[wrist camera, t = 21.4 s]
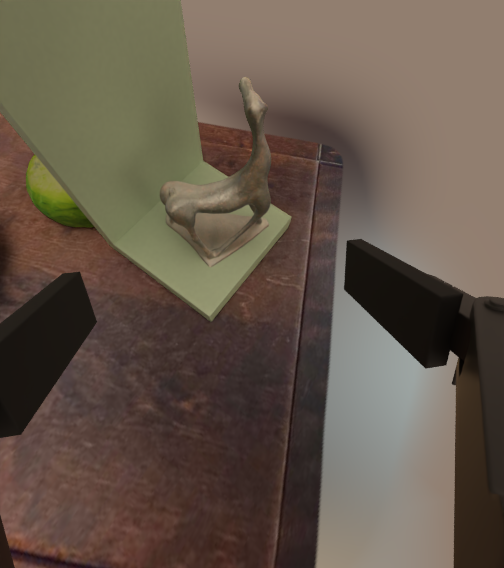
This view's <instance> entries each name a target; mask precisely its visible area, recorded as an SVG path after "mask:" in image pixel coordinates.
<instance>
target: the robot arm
mask: <svg viewBox="0 0 504 568" xmlns="http://www.w3.org/2000/svg"><path fill="white" fill-rule="evenodd" d="M346 250H347V251H346V266H345V285H344V290H345V291H346V292H347V293H348V294H350V295H351V296H352V297H353V298H354V299H355V300H356V301H357V302H358V303H359V304H360V305H361V306H362V307H363V308H364V309H365V310H366V311H367V312H368V313H369V314H370V315H371V316H372V317H373V318H374V319H375V320H376V321H377V322H378V323H379V324H380V325H381V326H383V328H384V329H386V330H387V331H388V332H389V333H390V334H391V335H392V336H393V337H394V338H395V339H396V340H397V341H398V342H399V343H400V344H401V345H402V346H403V347H404V348H405V349H406V350H407V351H408V352H409V353H410V354H411V355H412V356H413V357H414V358H415V359H416V360H417V361H419V363H420V364H421V365H423V366H424V367H425V368H432V367H438V366H444V365H446V364H447V360H448V355H449V352H450V350H451V351H452V352H453V353H454V354H456V355H457V356H458V357H459V358H458V362H457V366H456V370H455V374H454V377H453V381H452V384H453V385H456V433H455V434H456V435H455V437H456V439H455V511H454V512H455V513H454V516H455V517H454V568H504V298H499V297H479V298H475V297H473V296H471V295H469V294H467V293H465V292H463V291H461V290H460V289H458V288H456V287H452V285H450V284H448V283H446V282H445V283H444V281H442V280H440V279H439V278H437V277H435V276H432V275H429V274H426V273H424V272H422V271H420V270H418V269H416V268H414V267H412V266H411V265H408V264H407V263H405V262H403V261H401V260H399V259H397V258H396V257H394V256H392V255H390V254H388V253H386V252H384V251H383V250H380V249H379V248H377V247H375V246H373V245H371V244H369V243H368V242H366V241H364V240H362V239H357V240H349V241H347V248H346ZM96 323H97V321H96V318H95V315H94V312H93V309H92V306H91V303H90V300H89V297H88V294H87V291H86V288H85V286H84V283H83V280H82V277H81V274H80V272H73V273H64V274H62V275H60V276H59V277H58V278H57V279H55V280H54V281H53V282H52V283H50V284H49V285H48V286H47V287H45V288H44V289H43V290H42V291H40V292H39V293H38V294H37V295H35V296H34V297H33V298H32V299H31V300H29V301H28V302H27V303H26V304H24V305H23V306H22V307H21V308H19V309H18V310H17V311H16V312H14V313H13V314H12V315H11V316H9V317H8V318H7V319H6V320H4V321H3V322H2V323H1V324H0V438H3V437H9V436H15V435H21V434H22V432H23V431H24V429H25V428H26V426H27V425H28V423H29V422H30V420H31V419H32V417H33V416H34V414H35V413H36V411H37V410H38V408H39V407H40V406H41V404H42V403H43V401H44V400H45V398H46V397H47V395H48V394H49V392H50V391H51V389H52V388H53V386H54V385H55V383H56V382H57V380H58V379H59V377H60V376H61V374H62V373H63V371H64V370H65V369H66V367H67V366H68V364H69V363H70V361H71V360H72V358H73V357H74V355H75V354H76V352H77V351H78V349H79V348H80V346H81V345H82V343H83V342H84V340H85V339H86V337H87V336H88V334H89V333H90V332H91V330H92V329H93V327H94V326H95V324H96ZM0 568H15V567H14V564H13V560H12V556H11V553H10V549H9V545H8V542H7V538H6V534H5V531H4V527H3V523H2V520H1V516H0Z"/></svg>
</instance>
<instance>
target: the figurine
mask: <svg viewBox="0 0 504 568" xmlns="http://www.w3.org/2000/svg"><path fill="white" fill-rule="evenodd" d="M239 89H240V91H241V93H242V97H243V102H244V110H245V115H246V118H247V121H248V123H249V126H250V128H251V131H252V135H253V149H252V153H251V157H250V159H249V161H248V162H247V164H246V165H245V166H244V167H243V168H242V169H241V170H240V171H238V172H237V173H235V174H234V175H232V176H230V177H228V178H226V179H224V180H221V181H217V182H213V183H209V184H204V185H194V184H188V183H184V182H180V181H168V182H166V183H164V184H163V186H162V187H161V189H160V199H161V202H162V203H163V204H164V205H165V211H166V213H167V214H166V224H167V225H168V226H169V227H170V228H171V229H173V230H174V231H175V232H176V233H178V234H179V235H180V236H181V237H182V238H183V239H184V240H186V241H187V242H188V243H189V244H190V245H191V246H192V247H193V249H194V250H195V251H196V252H197V253H198V255H199V256H200V257H201V259H202V260H203V261H204V262H205V263H206V264H207V265H208V266H209V267H213V266H214V265H216V264H217V263H219V262H221V261H222V260H224V259H225V258H227V257H228V256H230V255H231V254H233V253H234V252H236V251H237V250H239V249H240V248H242V247H243V246H244V245H246V244H247V243H248V242H250V241H251V240H253V239H254V238H255V237H256V236H258V235H259V234H260V233H261V232H262V231H263V230H264V229H266V228H267V227H268V226H269V223H268V221H267V219H265V218H261V217H263V215H265V214H266V213H267V211H268V210H269V208H270V204H271V199H270V194H269V190H268V184H267V177H268V173H269V170H270V166H271V154H270V150H269V147H268V145H267V142H266V139H265V136H264V130H263V123H264V116H265V114H266V111H267V110H268V106H267V105H266V104H265V103H263V101H262V100H261V98H260V96H259V95H258V94H257V93H255V92H254V90H253V88H252V84H251V81H250V80H249V78H247V77H244V78H243V79H241V81H240V83H239ZM246 205H249V206H250V208H251V210H252V211H253V213H254V215H253V216H252V217H251V216H241V215H235V214H228V213H231V212H233V211H236V210H238V209H241V208H242V207H244V206H246Z"/></svg>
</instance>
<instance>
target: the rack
mask: <svg viewBox="0 0 504 568" xmlns="http://www.w3.org/2000/svg"><path fill="white" fill-rule="evenodd" d="M0 112H1V114H2V115H3V116H4V117H5V119H6V120H7V121H8V122H9V123H10V125H11V126H12V127H13V128H14V129H15V131H16V132H17V133H18V134H19V136H20V137H21V138H22V139H23V140H24V142H25V143H26V144H27V145H28V146H29V148H30V149H31V150H32V151H33V153H34V154H35V155H36V156H37V157H38V159H39V160H40V161H41V162H42V164H43V165H44V166H45V167H46V168H47V170H48V171H49V172H50V173H51V174H52V176H53V177H54V178H55V179H56V181H57V182H58V183H59V184H60V185H61V187H62V188H63V189H64V190H65V191H66V193H67V194H68V195H69V196H70V198H71V199H72V200H73V201H74V202H75V204H76V205H77V206H78V207H79V209H80V210H81V211H82V212H83V213H84V215H85V216H86V217H87V218H88V219H89V221H90V222H91V223H92V224H93V226H94V227H95V228H96V229H97V230H98V232H99V233H100V234H101V235H102V236H103V238H104V239H105V240H106V241H107V243H108V244H109V245H110V246H111V247H112V248H114V249H115V250H116V251H118V252H119V253H120V254H122V255H123V256H124V257H126V258H127V259H128V260H130V261H131V262H132V263H134V264H135V265H136V266H138V267H139V268H140V269H142V270H143V271H144V272H146V273H147V274H148V275H150V276H151V277H152V278H154V279H155V280H156V281H157V282H159V283H160V284H161V285H163V286H164V287H165V288H167V289H168V290H169V291H171V292H172V293H173V294H175V295H176V296H177V297H179V298H180V299H181V300H183V301H184V302H185V303H187V304H188V305H189V306H191V307H192V308H193V309H195V310H196V311H197V312H199V313H200V314H201V315H203V316H204V317H205V318H206V319H208V320H209V321H210V322H211V321H212V320H213V319H214V318H215V317H216V315H217V314H218V313H219V312H220V310H221V309H222V308H223V307H224V306H225V304H226V303H227V302H228V301H229V299H230V298H231V297H232V296H233V295H234V293H235V292H236V291H237V290H238V288H239V287H240V286H241V285H242V283H243V282H244V281H245V280H246V279H247V277H248V276H249V275H250V274H251V272H252V271H253V270H254V269H255V268H256V266H257V265H258V264H259V263H260V261H261V260H262V259H263V258H264V256H265V255H266V254H267V253H268V252H269V250H270V249H271V248H272V247H273V245H274V244H275V243H276V242H277V241H278V239H279V238H280V237H281V236H282V234H283V233H284V232H285V231H286V229H287V228H288V227H289V224H290V221H291V216H289V215H288V214H286V213H285V212H283V211H281V210H280V209H278V208H277V207H275V206H274V205H272V204H270V208H269V210H268V211H267V213H266V214H265V215H263V217H261V218H265V219H267V221H268V223H269V226H268V227H267V228H266V229H264V230H263V231H262V232H261V233H260V234H259V235H258V236H256V237H255V238H254V239H253V240H251V241H250V242H248V243H247V244H246V245H244V246H243V247H242V248H240V249H239V250H237V251H236V252H234V253H233V254H231V255H230V256H228V257H227V258H225V259H224V260H222V261H221V262H219V263H217V264H216V265H214V266H213V267H209V266H208V265H207V264H206V263H205V262H204V261H203V260H202V259H201V257H200V256H199V255H198V253H197V252H196V251H195V250H194V249H193V247H192V246H191V245H190V244H189V243H188V242H187V241H186V240H184V239H183V238H182V237H181V236H180V235H179V234H178V233H176V232H175V231H174V230H173V229H171V228H170V227H169V226H168V225H167V224H166V214H167V213H166V211H165V205H164V204H163V203H162V202H161V199H160V189H161V187H162V186H163V184H164V183H166V182H168V181H180V182H184V183H188V184H194V185H204V184H209V183H213V182H217V181H221V180H224V179H226V178H228V176H226V175H225V174H223V173H221V172H220V171H218V170H217V169H215V168H213V167H212V166H210V165H209V164H207V163H206V162H204V161H203V157H202V150H201V143H200V136H199V128H198V121H197V114H196V107H195V100H194V93H193V86H192V79H191V71H190V64H189V57H188V51H187V43H186V35H185V28H184V21H183V15H182V7H181V0H0ZM228 214H235V215H241V216H251V217H252V216H253V215H254V213H253V211H252V210H251V208H250V206H249V205H246V206H244V207H242V208H241V209H238V210H236V211H233V212H231V213H228Z"/></svg>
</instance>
